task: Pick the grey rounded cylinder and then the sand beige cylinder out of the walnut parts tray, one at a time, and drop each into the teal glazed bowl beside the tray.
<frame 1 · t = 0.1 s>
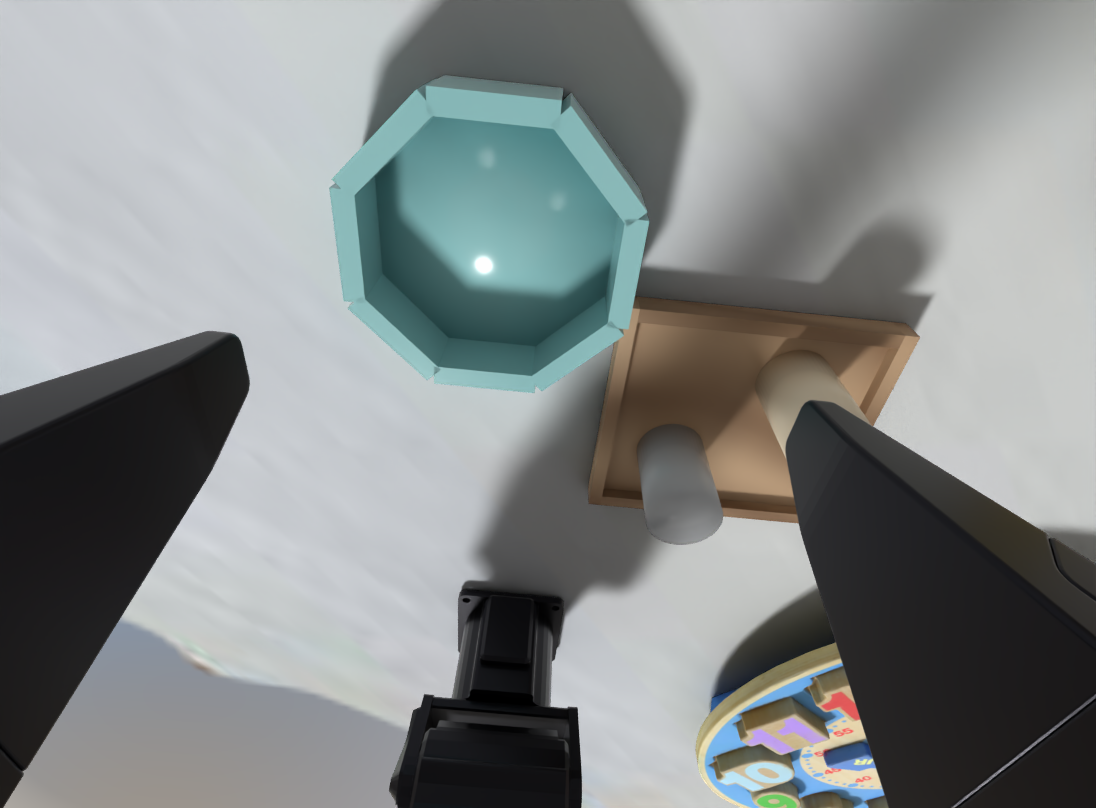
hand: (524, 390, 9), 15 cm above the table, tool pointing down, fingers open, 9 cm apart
grey rounded cylinder: (669, 450, 28), point 1 cm above the table, touching parts tray
bowl: (497, 234, 22), on the table
shape sorting clock: (900, 698, 42), on the table
sand beige cylinder: (792, 381, 25), point 1 cm above the table, touching parts tray
parts tray: (729, 414, 27), on the table
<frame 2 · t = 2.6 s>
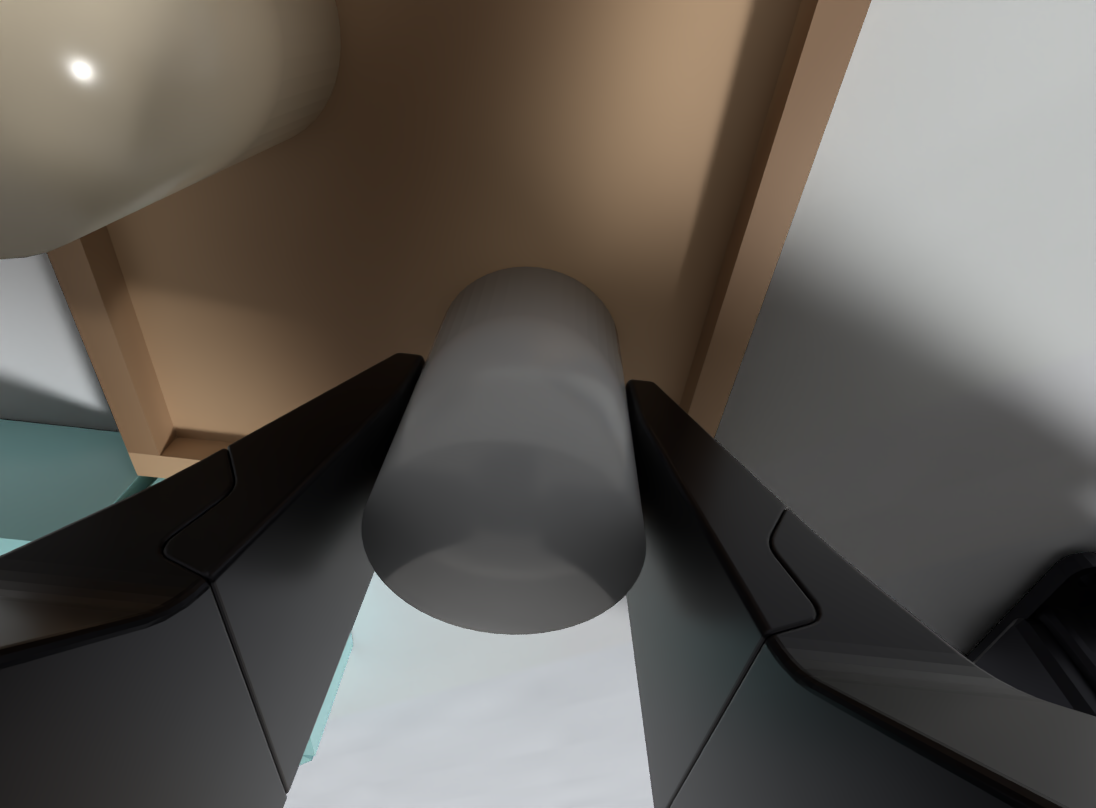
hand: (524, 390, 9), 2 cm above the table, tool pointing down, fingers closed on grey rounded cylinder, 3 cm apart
grey rounded cylinder: (529, 352, 10), point 1 cm above the table, touching gripper, parts tray
bowl: (148, 582, 15), on the table
sand beige cylinder: (216, 13, 7), point 1 cm above the table, touching parts tray
parts tray: (421, 184, 9), on the table
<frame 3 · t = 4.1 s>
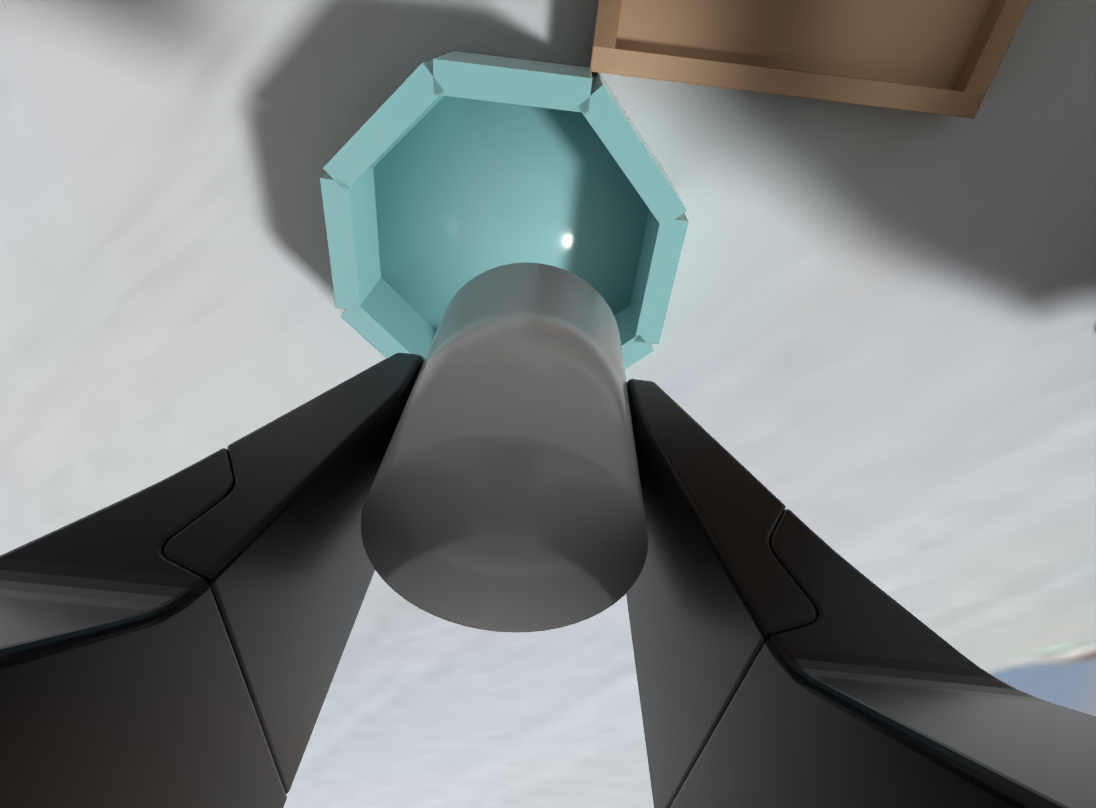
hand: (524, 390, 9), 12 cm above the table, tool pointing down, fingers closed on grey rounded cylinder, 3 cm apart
grey rounded cylinder: (529, 349, 10), point 11 cm above the table, touching gripper
bowl: (510, 234, 20), on the table
when the fingers open (4 cm above the table, at t = 5.9 s): grey rounded cylinder drops 2 cm, resting on bowl.
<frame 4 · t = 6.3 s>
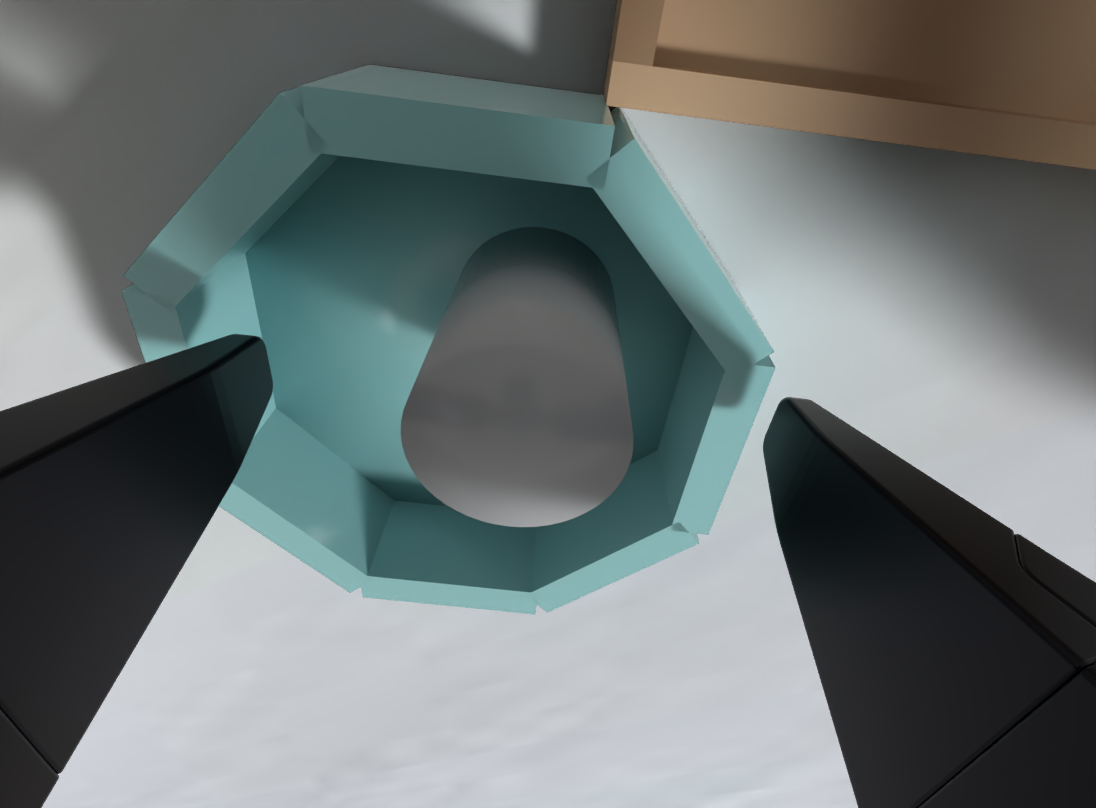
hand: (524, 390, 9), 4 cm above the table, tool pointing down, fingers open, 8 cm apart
grey rounded cylinder: (535, 305, 12), point 1 cm above the table, touching bowl
bowl: (475, 347, 13), on the table
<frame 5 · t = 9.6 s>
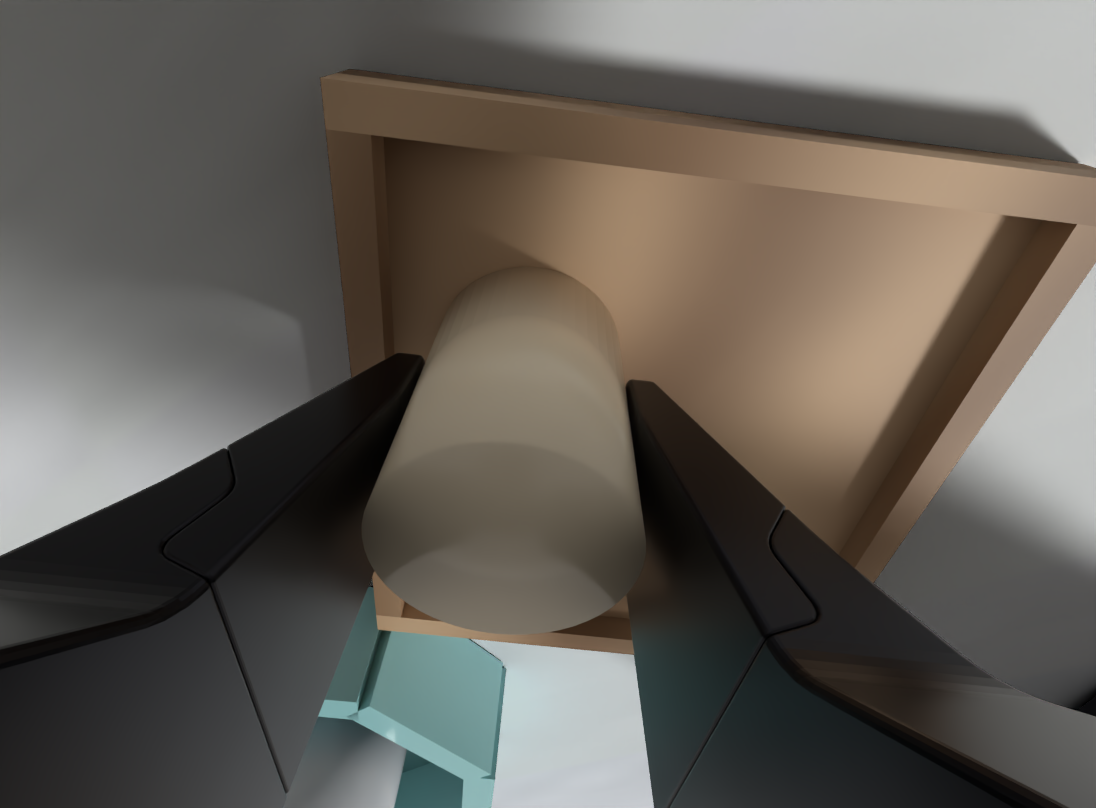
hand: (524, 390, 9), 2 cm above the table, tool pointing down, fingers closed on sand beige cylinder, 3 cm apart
grey rounded cylinder: (365, 684, 17), point 1 cm above the table, touching bowl
bowl: (335, 687, 18), on the table
sand beige cylinder: (529, 352, 10), point 1 cm above the table, touching gripper, parts tray
parts tray: (641, 435, 12), on the table
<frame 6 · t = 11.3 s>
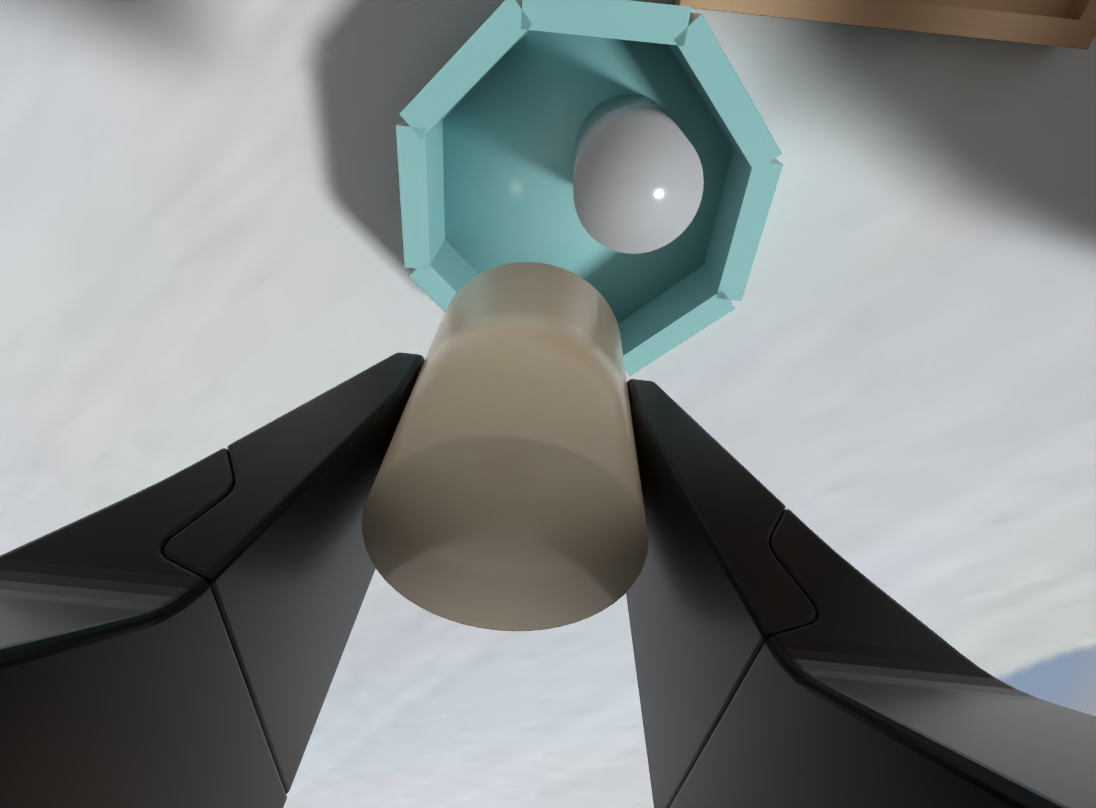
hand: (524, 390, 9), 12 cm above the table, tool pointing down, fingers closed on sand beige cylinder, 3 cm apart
grey rounded cylinder: (626, 151, 18), point 1 cm above the table, touching bowl
bowl: (581, 191, 19), on the table
sand beige cylinder: (529, 348, 10), point 11 cm above the table, touching gripper
when the fingers open (4 cm above the table, at t = 13.2 s): sand beige cylinder drops 2 cm, resting on bowl.
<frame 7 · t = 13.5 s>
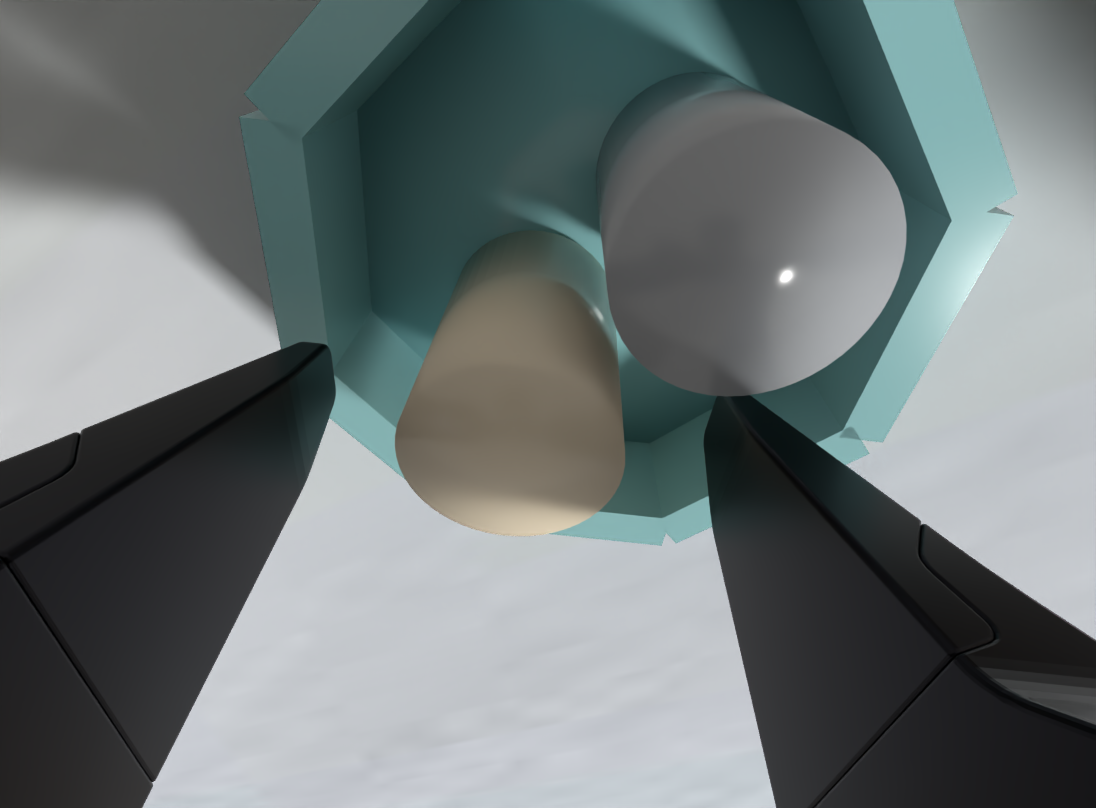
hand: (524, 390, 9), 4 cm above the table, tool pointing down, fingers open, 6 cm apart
grey rounded cylinder: (686, 176, 10), point 1 cm above the table, touching bowl
bowl: (601, 239, 11), on the table
sand beige cylinder: (534, 308, 12), point 1 cm above the table, touching bowl
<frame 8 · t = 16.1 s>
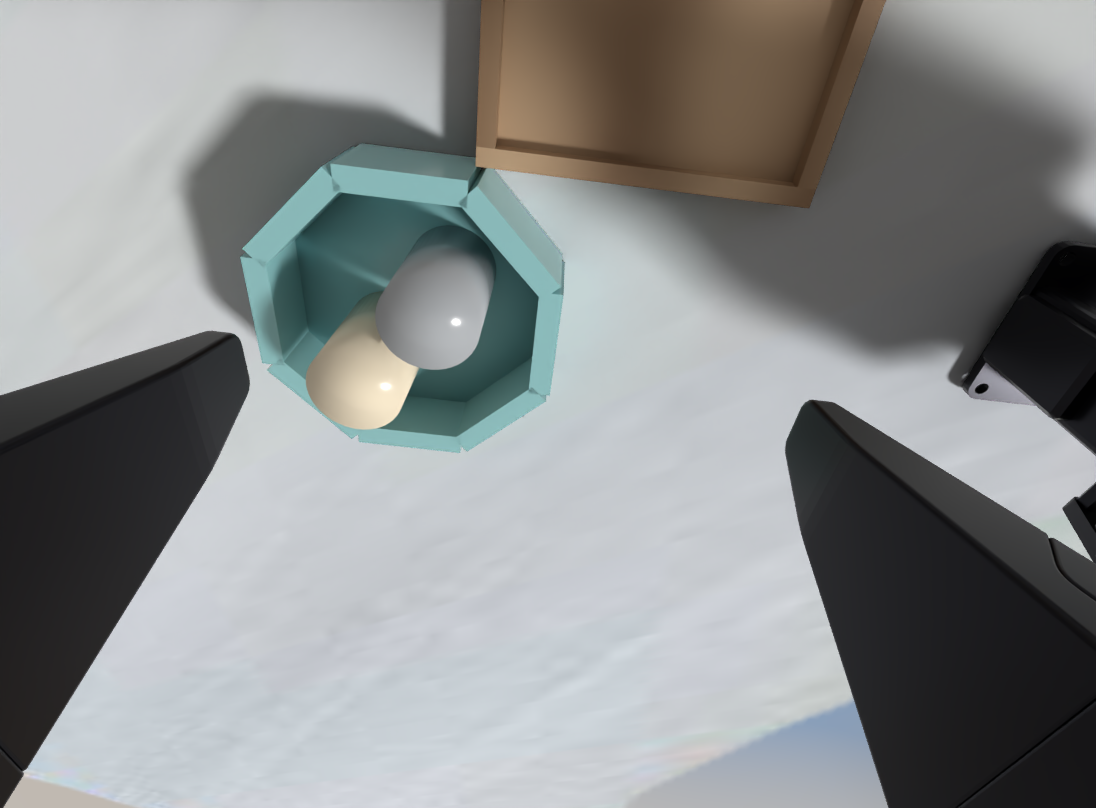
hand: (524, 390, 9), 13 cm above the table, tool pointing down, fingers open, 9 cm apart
grey rounded cylinder: (453, 268, 21), point 1 cm above the table, touching bowl
bowl: (423, 294, 22), on the table
sand beige cylinder: (391, 329, 23), point 1 cm above the table, touching bowl
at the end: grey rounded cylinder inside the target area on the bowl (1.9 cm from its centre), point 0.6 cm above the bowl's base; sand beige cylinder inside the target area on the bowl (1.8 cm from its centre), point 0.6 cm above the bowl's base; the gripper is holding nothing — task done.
